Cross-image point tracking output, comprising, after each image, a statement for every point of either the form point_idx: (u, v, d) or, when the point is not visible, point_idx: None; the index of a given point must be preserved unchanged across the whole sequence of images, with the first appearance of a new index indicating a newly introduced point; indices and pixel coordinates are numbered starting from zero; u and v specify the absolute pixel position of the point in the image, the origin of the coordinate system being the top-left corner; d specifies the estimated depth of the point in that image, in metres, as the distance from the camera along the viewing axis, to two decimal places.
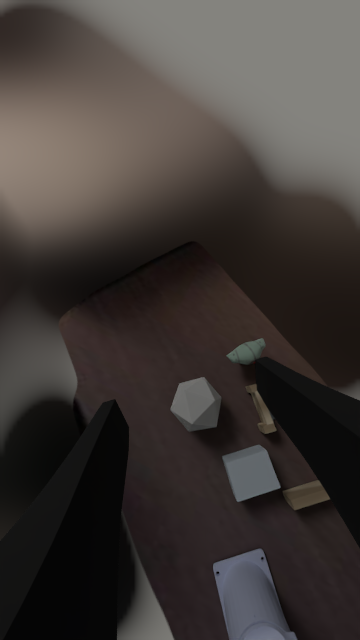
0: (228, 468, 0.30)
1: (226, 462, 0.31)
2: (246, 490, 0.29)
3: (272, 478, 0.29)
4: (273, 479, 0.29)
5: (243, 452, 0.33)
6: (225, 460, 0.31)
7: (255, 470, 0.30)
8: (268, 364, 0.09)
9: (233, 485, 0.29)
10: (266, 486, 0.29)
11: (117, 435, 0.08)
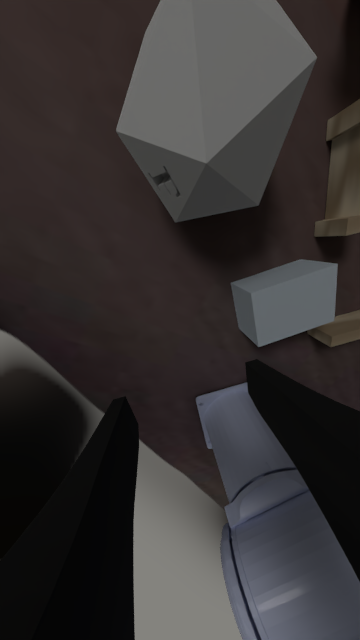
0: (254, 301, 0.14)
1: (251, 291, 0.14)
2: (278, 330, 0.16)
3: (326, 309, 0.16)
4: (328, 310, 0.16)
5: (276, 272, 0.16)
6: (246, 288, 0.15)
7: (303, 300, 0.15)
8: (258, 367, 0.08)
9: (257, 326, 0.15)
10: (312, 321, 0.16)
11: (128, 432, 0.08)
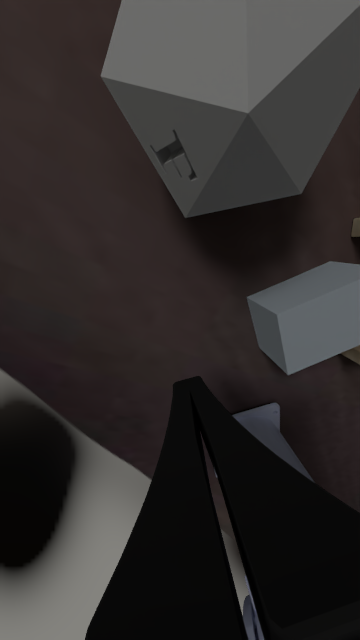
0: (282, 323, 0.12)
1: (277, 311, 0.11)
2: (311, 354, 0.13)
3: None
4: None
5: (304, 281, 0.13)
6: (268, 306, 0.12)
7: (342, 316, 0.12)
8: (193, 385, 0.08)
9: (286, 352, 0.12)
10: (354, 339, 0.13)
11: (194, 412, 0.08)
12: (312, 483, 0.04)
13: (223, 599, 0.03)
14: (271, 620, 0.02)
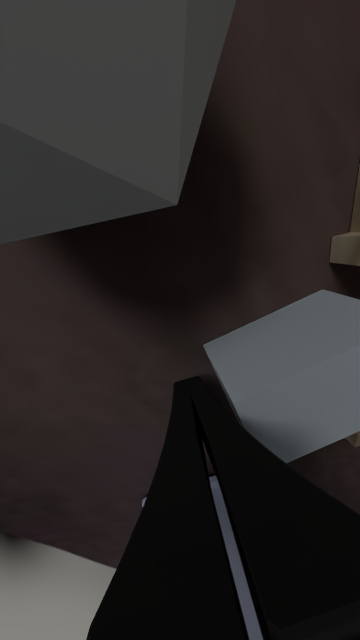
0: (244, 413, 0.07)
1: (235, 394, 0.07)
2: (298, 444, 0.08)
3: None
4: None
5: (284, 328, 0.09)
6: (225, 377, 0.08)
7: (346, 392, 0.07)
8: (193, 385, 0.08)
9: None
10: None
11: (195, 412, 0.08)
12: (311, 483, 0.04)
13: (225, 598, 0.03)
14: (269, 620, 0.02)
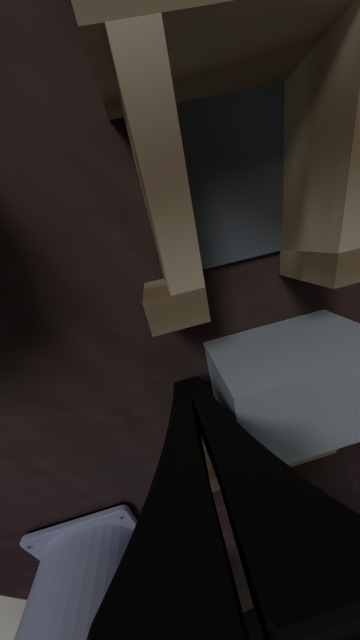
0: (241, 412, 0.07)
1: (236, 391, 0.07)
2: (283, 453, 0.08)
3: None
4: None
5: (287, 337, 0.09)
6: (226, 374, 0.08)
7: (337, 406, 0.08)
8: (193, 385, 0.08)
9: None
10: (347, 437, 0.09)
11: (195, 412, 0.08)
12: (311, 484, 0.04)
13: (225, 598, 0.03)
14: (269, 621, 0.02)
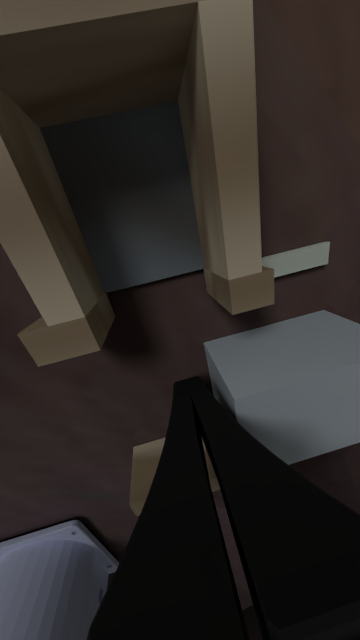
0: (242, 412, 0.07)
1: (236, 392, 0.07)
2: (283, 453, 0.08)
3: None
4: None
5: (287, 338, 0.09)
6: (226, 375, 0.08)
7: (337, 407, 0.08)
8: (193, 385, 0.08)
9: None
10: (347, 437, 0.09)
11: (195, 412, 0.08)
12: (311, 483, 0.04)
13: (225, 598, 0.03)
14: (269, 621, 0.02)
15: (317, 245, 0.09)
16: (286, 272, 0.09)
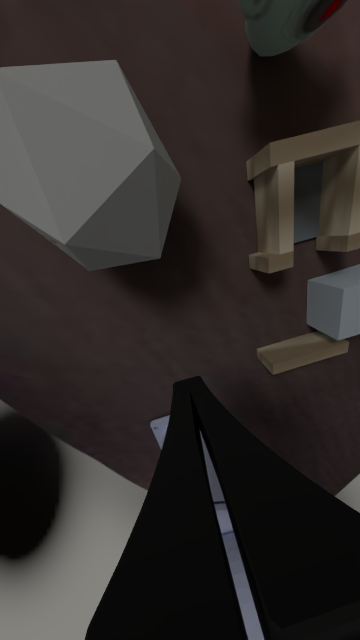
0: (345, 297, 0.16)
1: (343, 287, 0.16)
2: (358, 325, 0.17)
3: None
4: None
5: (356, 271, 0.18)
6: (333, 285, 0.16)
7: None
8: (193, 385, 0.08)
9: (342, 320, 0.16)
10: None
11: (194, 412, 0.08)
12: (312, 483, 0.04)
13: (223, 599, 0.03)
14: (271, 620, 0.02)
15: None
16: None
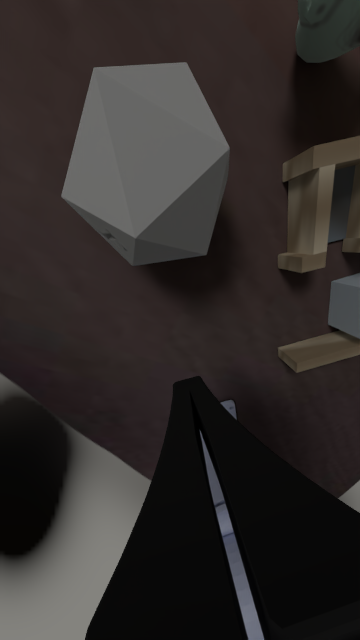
0: None
1: None
2: None
3: None
4: None
5: None
6: (359, 286, 0.17)
7: None
8: (193, 385, 0.08)
9: None
10: None
11: (194, 412, 0.08)
12: (312, 483, 0.04)
13: (223, 599, 0.03)
14: (271, 620, 0.02)
15: None
16: None
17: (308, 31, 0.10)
